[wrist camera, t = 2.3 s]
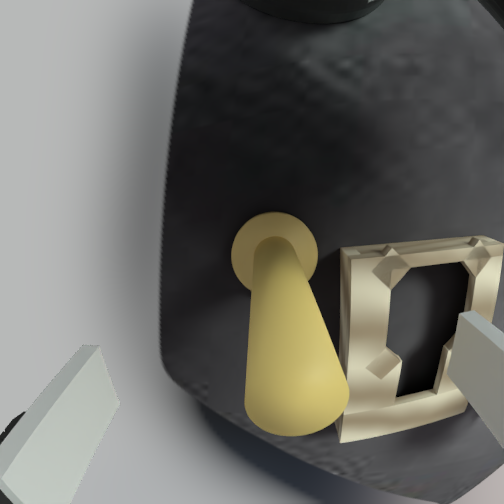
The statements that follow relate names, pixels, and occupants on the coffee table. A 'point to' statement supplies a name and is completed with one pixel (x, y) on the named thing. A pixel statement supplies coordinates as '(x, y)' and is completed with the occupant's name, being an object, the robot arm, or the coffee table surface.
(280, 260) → the headed peg
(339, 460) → the coffee table surface
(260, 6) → the robot arm
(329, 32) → the coffee table surface
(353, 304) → the keyhole board
